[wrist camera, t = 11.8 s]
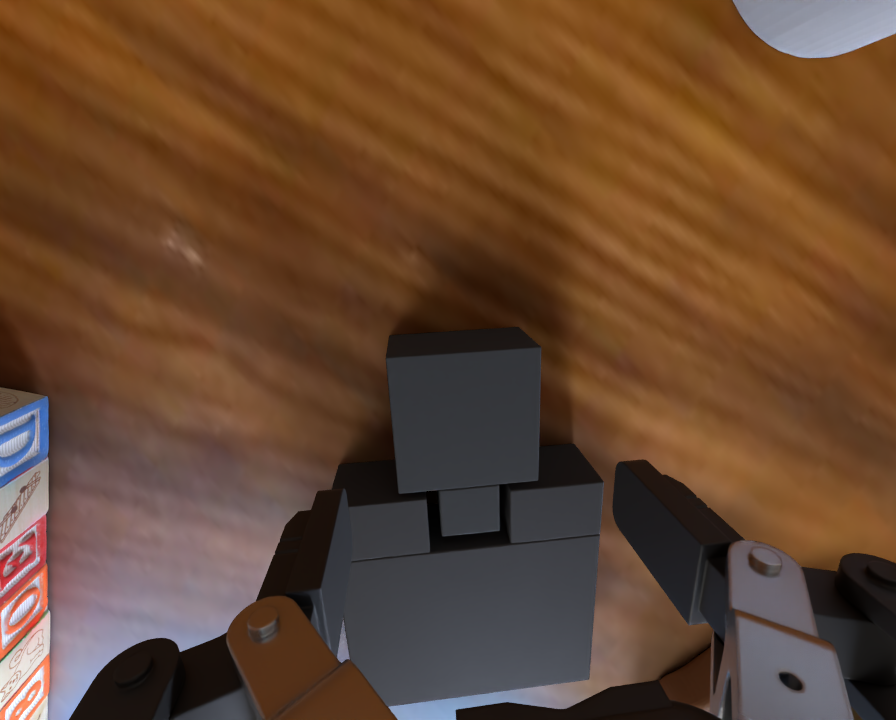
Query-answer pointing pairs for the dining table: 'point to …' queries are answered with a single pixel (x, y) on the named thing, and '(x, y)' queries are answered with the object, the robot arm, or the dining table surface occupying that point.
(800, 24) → the coffee mug
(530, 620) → the notch pad
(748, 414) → the dining table surface
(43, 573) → the stack of blocks
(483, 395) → the pad
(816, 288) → the dining table surface
